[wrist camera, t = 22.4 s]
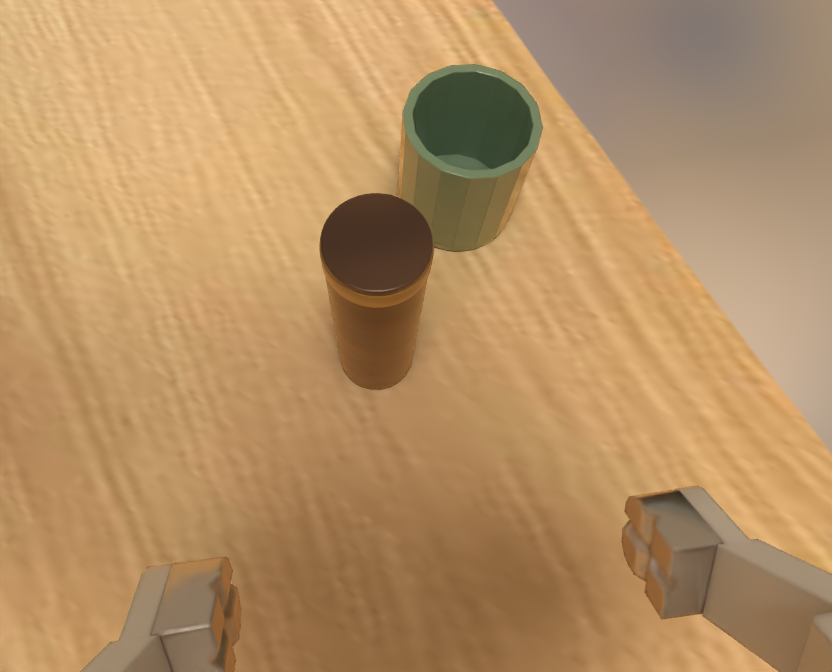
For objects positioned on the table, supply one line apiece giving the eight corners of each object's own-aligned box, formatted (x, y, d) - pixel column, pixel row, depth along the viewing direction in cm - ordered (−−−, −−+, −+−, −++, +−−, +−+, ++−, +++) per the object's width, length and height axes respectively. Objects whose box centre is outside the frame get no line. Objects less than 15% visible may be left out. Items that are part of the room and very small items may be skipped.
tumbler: (378, 179, 37) (379, 92, 30) (473, 138, 39) (495, 47, 32) (433, 269, 35) (448, 199, 28) (531, 223, 37) (568, 145, 30)
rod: (326, 340, 33) (298, 218, 21) (391, 309, 34) (400, 174, 22) (360, 403, 32) (351, 313, 20) (426, 369, 33) (455, 263, 21)
